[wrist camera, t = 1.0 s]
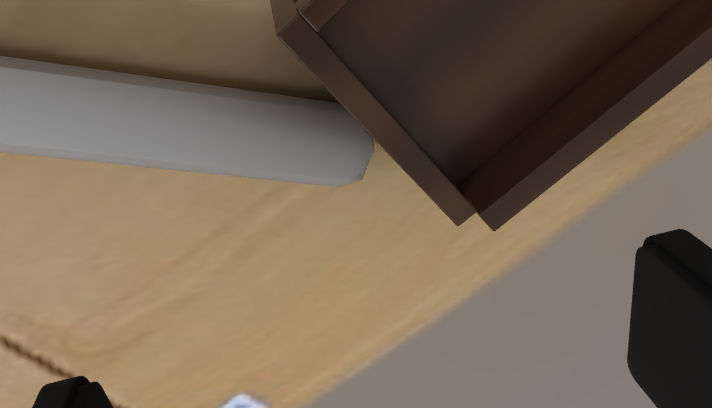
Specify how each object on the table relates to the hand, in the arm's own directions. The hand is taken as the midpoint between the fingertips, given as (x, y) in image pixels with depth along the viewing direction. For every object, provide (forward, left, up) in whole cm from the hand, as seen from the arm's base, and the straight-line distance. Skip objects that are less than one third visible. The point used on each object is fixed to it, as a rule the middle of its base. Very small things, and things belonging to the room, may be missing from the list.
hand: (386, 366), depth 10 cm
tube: (-3, -8, -26) cm, 27 cm away
